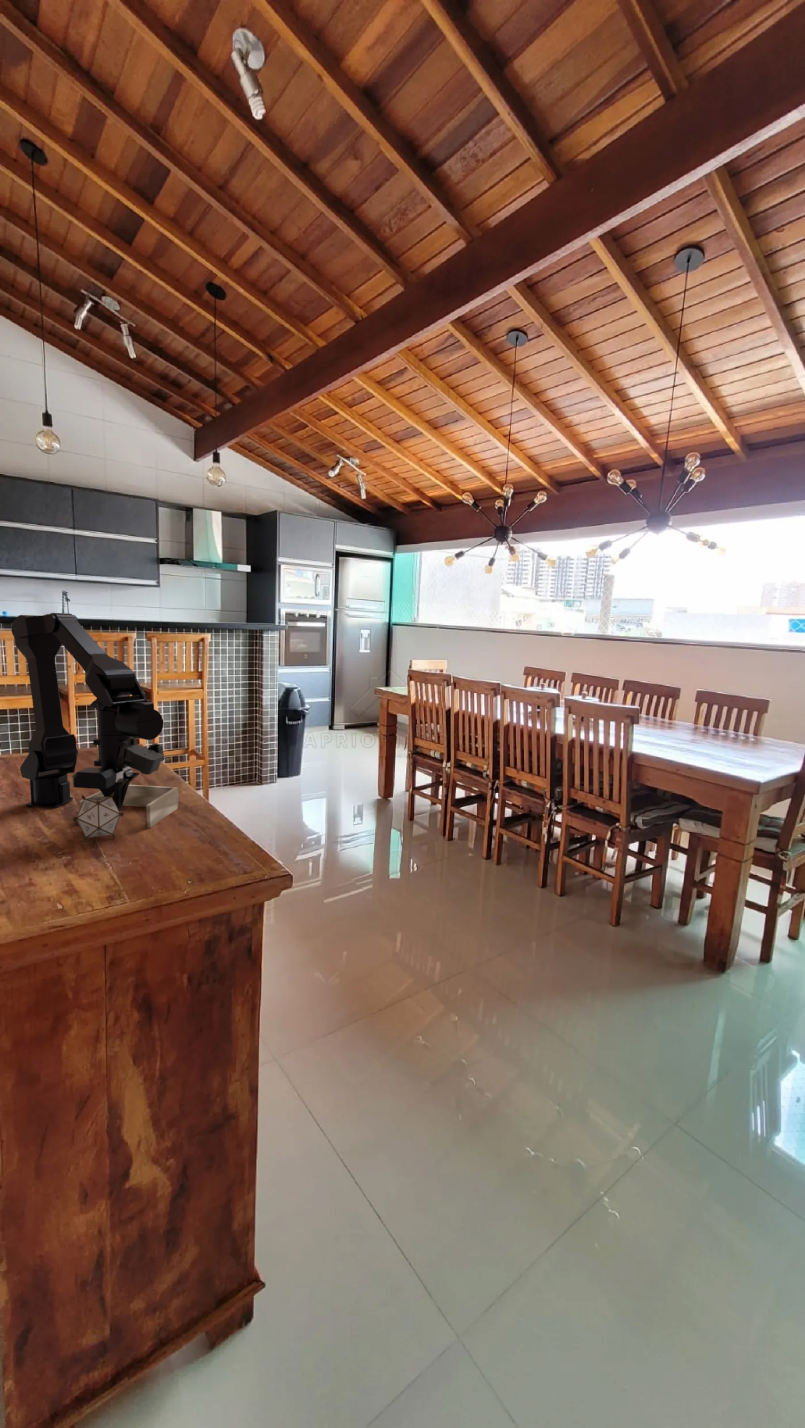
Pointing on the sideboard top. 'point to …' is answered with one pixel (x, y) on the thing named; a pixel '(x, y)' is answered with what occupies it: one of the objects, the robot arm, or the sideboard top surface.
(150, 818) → the cubby
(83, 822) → the game die
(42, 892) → the sideboard top surface
